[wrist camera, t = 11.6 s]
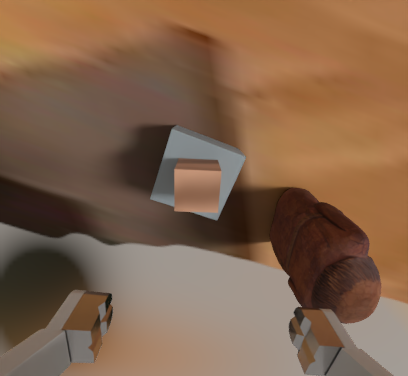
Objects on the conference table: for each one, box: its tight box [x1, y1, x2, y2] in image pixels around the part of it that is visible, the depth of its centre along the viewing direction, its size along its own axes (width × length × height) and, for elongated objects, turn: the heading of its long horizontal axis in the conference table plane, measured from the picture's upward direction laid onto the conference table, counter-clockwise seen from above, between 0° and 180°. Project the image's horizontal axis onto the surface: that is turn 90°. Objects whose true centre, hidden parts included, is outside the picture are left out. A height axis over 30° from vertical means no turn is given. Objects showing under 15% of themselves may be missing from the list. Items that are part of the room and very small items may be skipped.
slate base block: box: [150, 125, 246, 220], centre depth 30 cm, size 10×10×6 cm
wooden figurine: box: [270, 188, 381, 324], centre depth 28 cm, size 12×6×18 cm, turn 173°
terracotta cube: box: [174, 158, 222, 213], centre depth 25 cm, size 5×5×5 cm
